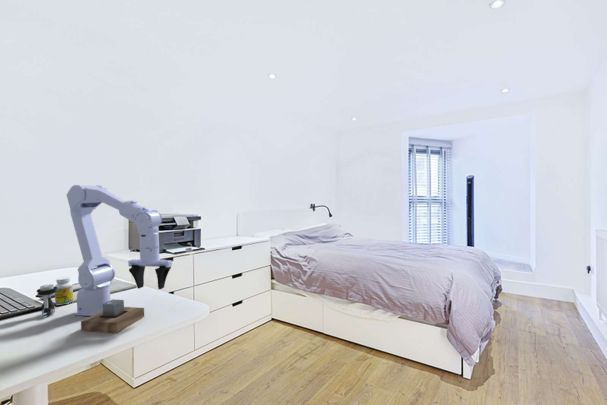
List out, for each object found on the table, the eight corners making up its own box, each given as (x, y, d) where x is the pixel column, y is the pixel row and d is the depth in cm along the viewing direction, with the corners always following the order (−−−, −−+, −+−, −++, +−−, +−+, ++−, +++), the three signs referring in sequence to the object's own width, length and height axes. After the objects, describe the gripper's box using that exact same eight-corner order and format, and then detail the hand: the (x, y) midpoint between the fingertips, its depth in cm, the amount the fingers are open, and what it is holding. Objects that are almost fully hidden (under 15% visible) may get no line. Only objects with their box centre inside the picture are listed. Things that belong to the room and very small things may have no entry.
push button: (53, 317, 103) (52, 288, 102) (33, 320, 101) (32, 290, 100) (60, 310, 109) (59, 282, 108) (41, 313, 107) (40, 284, 106)
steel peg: (103, 326, 96) (102, 303, 95) (113, 320, 100) (112, 299, 99) (115, 326, 95) (114, 304, 95) (124, 321, 99) (123, 299, 99)
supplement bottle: (76, 300, 120) (75, 275, 119) (68, 305, 114) (67, 279, 114) (60, 301, 118) (59, 276, 118) (52, 306, 113) (51, 280, 113)
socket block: (81, 330, 92) (80, 321, 92) (112, 315, 104) (111, 306, 104) (117, 333, 91) (116, 323, 90) (144, 316, 102) (143, 307, 102)
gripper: (121, 249, 100) (122, 291, 100) (162, 249, 97) (163, 292, 98) (136, 245, 106) (137, 284, 107) (174, 246, 104) (176, 285, 105)
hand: (150, 288), depth 103 cm, fingers open, 7 cm apart
